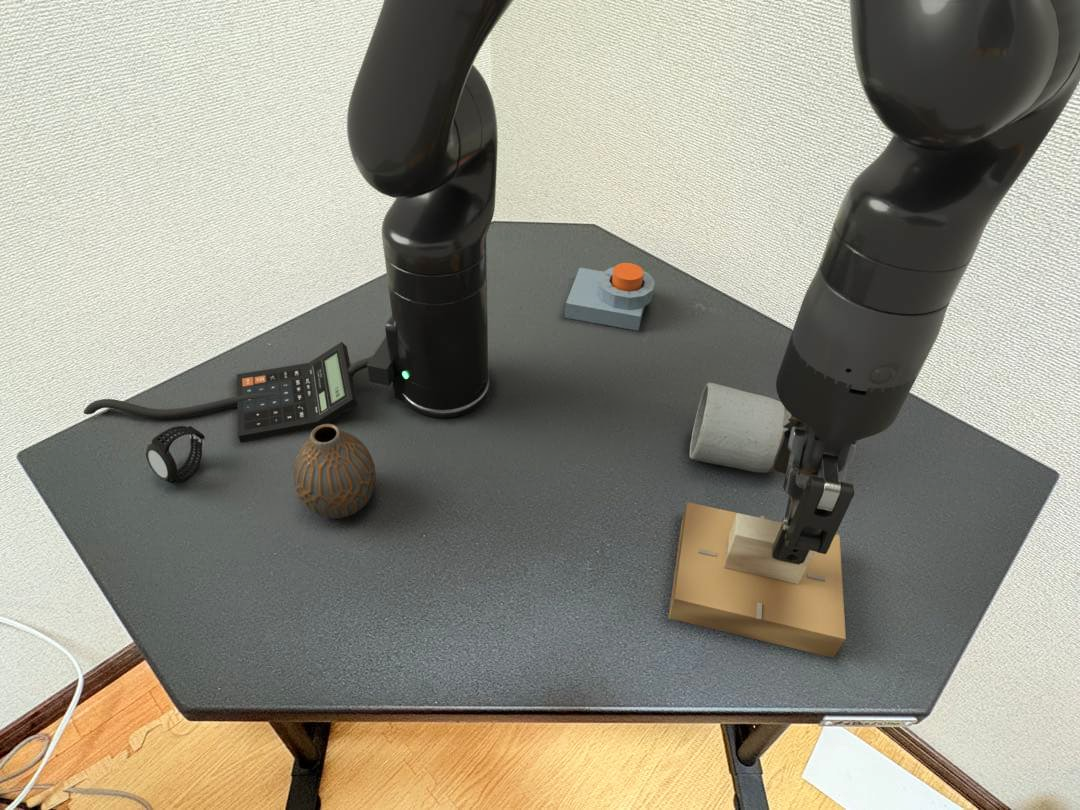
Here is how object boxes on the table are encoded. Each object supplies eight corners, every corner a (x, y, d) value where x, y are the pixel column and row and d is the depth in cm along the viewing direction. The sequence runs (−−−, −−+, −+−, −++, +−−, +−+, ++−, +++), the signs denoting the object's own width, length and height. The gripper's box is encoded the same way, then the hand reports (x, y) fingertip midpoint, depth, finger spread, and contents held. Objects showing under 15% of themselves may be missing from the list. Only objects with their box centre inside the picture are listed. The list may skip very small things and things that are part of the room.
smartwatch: (153, 470, 68) (134, 433, 65) (209, 449, 70) (194, 412, 67) (164, 499, 66) (145, 462, 62) (222, 476, 68) (207, 439, 64)
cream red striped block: (723, 567, 59) (735, 532, 56) (724, 545, 61) (737, 510, 57) (798, 584, 58) (816, 550, 55) (798, 562, 60) (815, 527, 56)
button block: (564, 317, 88) (566, 290, 85) (578, 281, 93) (580, 254, 91) (644, 332, 86) (649, 304, 83) (653, 294, 92) (658, 267, 89)
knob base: (668, 619, 59) (674, 598, 57) (681, 521, 66) (687, 499, 64) (833, 659, 57) (846, 639, 55) (828, 554, 64) (840, 532, 62)
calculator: (238, 380, 77) (231, 358, 75) (349, 362, 80) (345, 341, 78) (240, 442, 71) (232, 420, 69) (360, 420, 74) (356, 398, 72)
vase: (295, 483, 67) (275, 416, 61) (369, 463, 70) (357, 396, 64) (309, 540, 63) (289, 474, 57) (387, 517, 65) (376, 450, 59)
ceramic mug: (773, 491, 69) (795, 434, 64) (686, 475, 70) (702, 417, 65) (771, 417, 77) (791, 360, 71) (693, 403, 78) (707, 346, 72)
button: (609, 289, 86) (610, 276, 85) (614, 273, 88) (616, 260, 87) (639, 294, 85) (641, 281, 84) (643, 277, 88) (645, 265, 87)
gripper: (792, 269, 49) (740, 436, 60) (794, 410, 39) (730, 579, 50) (909, 287, 48) (833, 454, 59) (942, 437, 38) (843, 604, 49)
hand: (786, 511), depth 55 cm, fingers open, 8 cm apart
